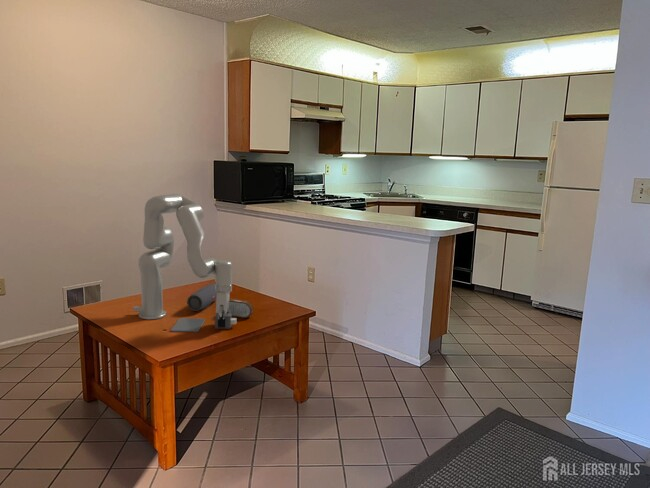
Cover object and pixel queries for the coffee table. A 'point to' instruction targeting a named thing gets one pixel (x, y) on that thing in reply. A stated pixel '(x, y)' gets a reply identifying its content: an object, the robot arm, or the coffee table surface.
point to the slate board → (187, 325)
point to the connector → (226, 321)
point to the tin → (240, 308)
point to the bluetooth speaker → (202, 298)
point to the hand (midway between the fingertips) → (223, 323)
